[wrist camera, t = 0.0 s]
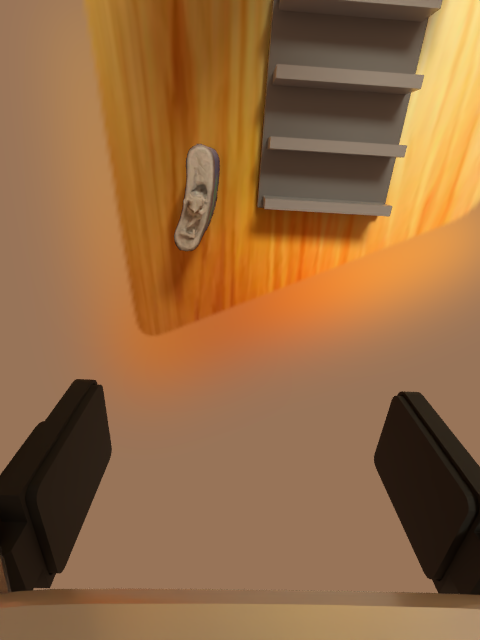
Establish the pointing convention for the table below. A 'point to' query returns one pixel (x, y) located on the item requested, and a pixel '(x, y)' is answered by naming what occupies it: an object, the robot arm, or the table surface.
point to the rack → (338, 101)
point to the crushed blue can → (198, 196)
